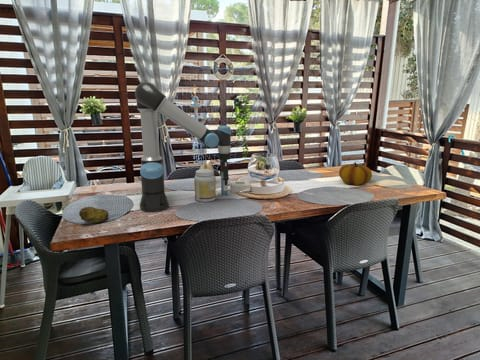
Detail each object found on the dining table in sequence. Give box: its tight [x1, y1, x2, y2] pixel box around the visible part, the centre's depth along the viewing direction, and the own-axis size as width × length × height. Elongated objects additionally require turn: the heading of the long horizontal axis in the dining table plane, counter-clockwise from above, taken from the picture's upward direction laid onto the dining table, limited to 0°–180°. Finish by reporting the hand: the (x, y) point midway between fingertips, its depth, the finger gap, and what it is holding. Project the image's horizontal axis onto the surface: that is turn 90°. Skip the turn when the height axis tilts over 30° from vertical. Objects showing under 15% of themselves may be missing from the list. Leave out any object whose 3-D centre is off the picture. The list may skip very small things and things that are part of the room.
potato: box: [78, 206, 109, 224], centre depth 155 cm, size 8×13×8 cm, turn 120°
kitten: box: [198, 160, 215, 171], centre depth 221 cm, size 15×10×15 cm
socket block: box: [229, 179, 252, 194], centre depth 208 cm, size 12×12×4 cm
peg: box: [220, 171, 229, 196], centre depth 196 cm, size 4×4×14 cm
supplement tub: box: [193, 168, 217, 203], centre depth 188 cm, size 12×12×17 cm
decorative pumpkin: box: [338, 161, 373, 186], centre depth 224 cm, size 20×22×15 cm
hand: (224, 187), depth 197 cm, fingers open, 13 cm apart
